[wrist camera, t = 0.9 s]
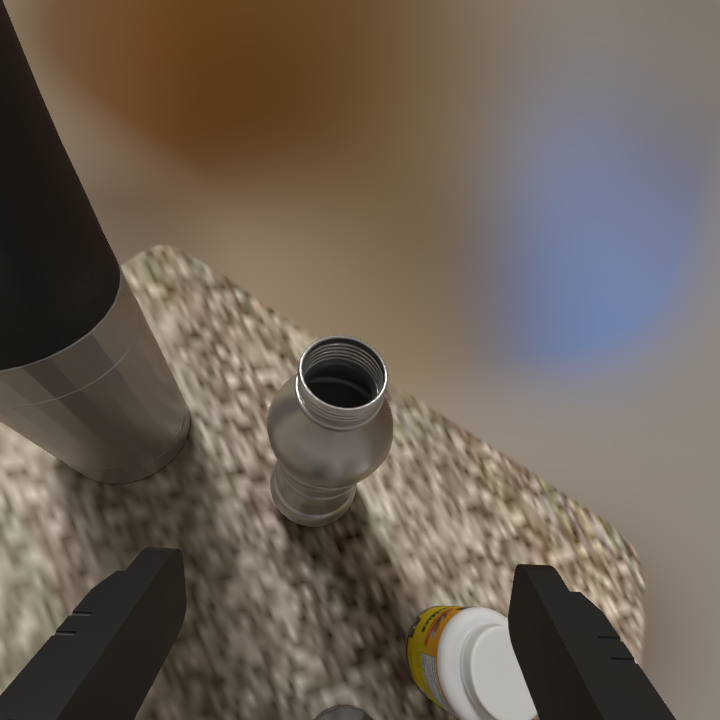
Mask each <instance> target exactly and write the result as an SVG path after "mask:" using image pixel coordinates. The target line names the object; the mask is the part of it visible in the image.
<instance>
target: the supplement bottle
mask: <svg viewBox="0 0 720 720" xmlns="http://www.w3.org/2000/svg"><path fill="white" fill-rule="evenodd" d="M405 655H406V662H407V667H408V670H409V673H410V675H411V677H412V679H413V681H414V683H415V685H416V686H417V687H418V689H419V690H420V691H421V692H422V693H423V694H424V695H425V696H426V697H428V698H429V699H430V700H432V701H433V702H435V703H436V704H437V705H439V706H440V707H442V708H443V709H445V710H446V711H448V712H449V713H451V714H452V715H454V716H455V717H457V718H458V719H459V720H532V719H533V718H534V717H535V716H536V715H537V711H536V708H535V706H534V703H533V700H532V698H531V695H530V693H529V690H528V687H527V685H526V682H525V679H524V677H523V674H522V672H521V669H520V666H519V664H518V661H517V658H516V656H515V653H514V650H513V648H512V644H511V640H510V636H509V629H508V619H507V618H506V617H504V616H503V615H502V614H500V613H498V612H496V611H494V610H491V609H488V608H483V607H460V606H435V607H431V608H428V609H426V610H424V611H423V612H421V613H420V614H419V615H418V616H417V617H416V618H415V619H414V621H413V622H412V624H411V626H410V628H409V631H408V634H407V638H406V644H405Z"/></svg>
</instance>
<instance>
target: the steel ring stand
mask: <svg viewBox="0 0 720 720" xmlns="http://www.w3.org/2000/svg"><path fill="white" fill-rule="evenodd" d="M314 720H373V719H372V718H371V717H370V716H369V715H368V714H367V713H366V712H364V711H363V710H361V709H359V708H357V707H354V706H351V705H337V706H333V707H331V708H328V709H326V710H325V711H323V712H321V713H320V714H319V715H318V716H317V717H316V718H315V719H314Z"/></svg>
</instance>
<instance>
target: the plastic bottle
mask: <svg viewBox="0 0 720 720" xmlns="http://www.w3.org/2000/svg"><path fill="white" fill-rule="evenodd" d="M387 386H388V370H387V366H386V364H385V362H384V360H383V358H382V356H381V355H380V354H379V353H378V352H377V351H376V349H374V348H373V347H372V346H371V345H369V344H368V343H366V342H364V341H362V340H361V339H358V338H355V337H352V336H346V335H332V336H326V337H323V338H320V339H318V340H316V341H315V342H313V343H312V344H311V345H309V346H308V347H307V348H306V350H305V351H304V352H303V354H302V356H301V359H300V361H299V365H298V373H297V374H296V375H294V376H293V377H291V378H290V379H289V380H288V381H287V382H286V383H285V384H284V385H283V386H282V388H281V389H280V390H279V392H278V393H277V394H276V396H275V397H274V399H273V401H272V403H271V405H270V408H269V413H268V417H267V431H268V435H269V440H270V444H271V448H272V450H273V452H274V454H275V456H276V458H277V461H276V463H275V466H274V468H273V471H272V474H271V479H270V489H271V494H272V498H273V500H274V502H275V505H276V506H277V508H278V509H279V510H280V512H281V513H282V514H283V515H284V516H285V517H287V518H288V519H289V520H291V521H293V522H294V523H297V524H300V525H303V526H309V527H318V526H324V525H327V524H330V523H332V522H334V521H336V520H338V519H339V518H340V517H341V516H342V515H344V514H345V512H346V511H347V510H348V509H349V507H350V505H351V503H352V501H353V499H354V495H355V492H356V483H358V482H360V481H362V480H364V479H366V478H367V477H368V476H369V475H371V474H372V473H373V472H374V471H375V470H376V469H377V468H378V467H379V466H380V465H381V464H382V463H383V461H384V460H385V459H386V457H387V455H388V453H389V450H390V448H391V444H392V440H393V418H392V413H391V408H390V406H389V403H388V401H387V399H386V397H385V393H386V390H387Z"/></svg>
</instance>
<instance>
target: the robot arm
mask: <svg viewBox="0 0 720 720" xmlns="http://www.w3.org/2000/svg"><path fill="white" fill-rule="evenodd" d="M0 422H2V423H4V424H5V425H7V426H8V427H10V428H11V429H13V430H14V431H16V432H18V433H19V434H21V435H22V436H24V437H25V438H27V439H28V440H30V441H32V442H33V443H35V444H36V445H38V446H39V447H41V448H43V449H44V450H46V451H47V452H49V453H50V454H52V455H53V456H55V457H56V458H58V459H59V460H61V461H62V462H64V463H65V464H67V465H68V466H70V467H72V468H73V469H75V470H76V471H78V472H79V473H81V474H83V475H84V476H86V477H88V478H90V479H92V480H95V481H97V482H102V483H108V484H124V483H129V482H134V481H138V480H140V479H143V478H145V477H148V476H150V475H152V474H154V473H155V472H157V471H159V470H160V469H162V468H163V467H164V466H166V465H167V464H168V463H169V462H170V461H171V460H172V459H173V458H174V457H175V456H176V455H177V453H178V452H179V451H180V450H181V448H182V446H183V444H184V442H185V441H186V439H187V435H188V432H189V428H190V414H189V409H188V406H187V404H186V402H185V400H184V398H183V396H182V394H181V392H180V389H179V387H178V385H177V383H176V381H175V378H174V376H173V374H172V372H171V370H170V368H169V366H168V364H167V362H166V360H165V358H164V356H163V354H162V352H161V350H160V347H159V345H158V343H157V341H156V339H155V337H154V335H153V333H152V331H151V329H150V327H149V325H148V323H147V321H146V318H145V316H144V314H143V312H142V310H141V308H140V306H139V304H138V302H137V300H136V298H135V296H134V294H133V292H132V290H131V288H130V286H129V284H128V282H127V280H126V278H125V276H124V274H123V272H122V269H121V267H120V265H119V263H118V261H117V259H116V257H115V255H114V253H113V251H112V249H111V247H110V245H109V243H108V241H107V239H106V237H105V235H104V233H103V231H102V229H101V227H100V224H99V222H98V220H97V217H96V215H95V213H94V211H93V209H92V207H91V204H90V202H89V200H88V197H87V195H86V193H85V191H84V189H83V187H82V184H81V182H80V180H79V178H78V176H77V174H76V172H75V169H74V167H73V165H72V163H71V161H70V159H69V157H68V155H67V153H66V150H65V148H64V146H63V144H62V142H61V140H60V137H59V136H58V133H57V130H56V128H55V126H54V123H53V121H52V119H51V116H50V114H49V112H48V110H47V107H46V105H45V102H44V100H43V98H42V96H41V93H40V91H39V89H38V86H37V84H36V81H35V79H34V76H33V74H32V71H31V69H30V67H29V64H28V62H27V59H26V57H25V54H24V52H23V49H22V47H21V44H20V42H19V39H18V37H17V35H16V32H15V30H14V27H13V25H12V22H11V20H10V17H9V15H8V12H7V10H6V8H5V5H4V3H3V0H0ZM186 603H187V600H186V588H185V578H184V567H183V556H182V552H181V550H180V549H174V548H150V547H148V548H145V549H144V550H142V551H141V552H140V554H139V555H138V556H137V557H136V559H135V560H134V561H133V562H132V564H131V565H130V566H129V567H128V569H127V570H126V571H116V572H115V573H113V574H112V575H110V576H109V577H108V578H106V579H105V580H104V581H102V582H101V583H99V584H98V585H97V586H95V587H94V588H93V589H92V590H91V591H90V592H89V593H88V594H87V595H86V596H85V598H84V599H83V600H82V601H81V602H80V603H79V605H78V606H77V607H76V608H75V609H74V610H73V613H72V615H71V616H68V617H67V619H66V620H65V621H64V622H63V623H62V624H61V626H60V627H59V628H58V629H57V630H56V634H55V635H54V636H51V637H50V638H49V640H48V641H47V642H46V643H45V644H44V645H43V647H42V648H41V649H40V650H39V651H38V652H37V654H36V655H35V656H34V657H33V658H32V659H31V660H30V662H29V663H28V664H27V665H26V666H25V667H24V669H23V670H22V671H21V672H20V673H19V674H18V676H17V677H16V678H15V679H14V680H13V681H12V683H11V684H10V685H9V686H8V687H7V688H6V690H5V691H4V692H3V693H2V694H1V695H0V720H134V718H135V716H136V715H137V713H138V711H139V709H140V707H141V705H142V703H143V701H144V699H145V697H146V695H147V693H148V691H149V689H150V688H151V686H152V684H153V682H154V680H155V678H156V676H157V674H158V672H159V670H160V668H161V666H162V664H163V662H164V660H165V659H166V657H167V655H168V653H169V651H170V649H171V647H172V645H173V643H174V641H175V639H176V637H177V635H178V633H179V631H180V629H181V627H182V624H183V620H184V617H185V612H186ZM508 629H509V636H510V640H511V644H512V648H513V650H514V653H515V656H516V658H517V661H518V664H519V666H520V669H521V672H522V674H523V677H524V679H525V682H526V685H527V687H528V690H529V693H530V695H531V698H532V700H533V703H534V706H535V708H536V711H537V714H538V716H539V719H540V720H676V719H675V718H674V716H673V715H672V713H671V712H670V710H669V709H668V708H667V706H666V704H665V703H664V701H663V700H662V698H661V697H660V696H659V694H658V693H657V691H656V690H655V688H654V687H653V685H652V684H651V683H650V681H649V679H648V678H647V677H646V675H645V673H644V672H643V671H642V669H641V668H640V666H639V665H638V664H636V663H635V661H634V657H633V656H632V654H631V653H630V651H629V650H628V649H627V647H626V646H625V644H624V643H623V642H621V641H620V637H619V635H618V634H617V632H616V631H615V629H614V628H613V627H612V625H611V624H610V622H609V621H608V619H607V618H606V616H605V615H604V613H603V612H602V611H601V610H600V609H598V608H597V607H596V606H595V605H594V604H593V603H592V602H591V601H589V600H588V599H587V598H586V597H585V596H584V595H583V594H582V593H581V592H570V591H569V590H568V588H567V586H566V585H565V583H564V582H563V580H562V578H561V577H560V575H559V574H558V572H557V571H556V569H555V568H554V567H553V566H550V565H528V564H518V565H517V567H516V569H515V574H514V581H513V587H512V594H511V600H510V607H509V613H508Z"/></svg>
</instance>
